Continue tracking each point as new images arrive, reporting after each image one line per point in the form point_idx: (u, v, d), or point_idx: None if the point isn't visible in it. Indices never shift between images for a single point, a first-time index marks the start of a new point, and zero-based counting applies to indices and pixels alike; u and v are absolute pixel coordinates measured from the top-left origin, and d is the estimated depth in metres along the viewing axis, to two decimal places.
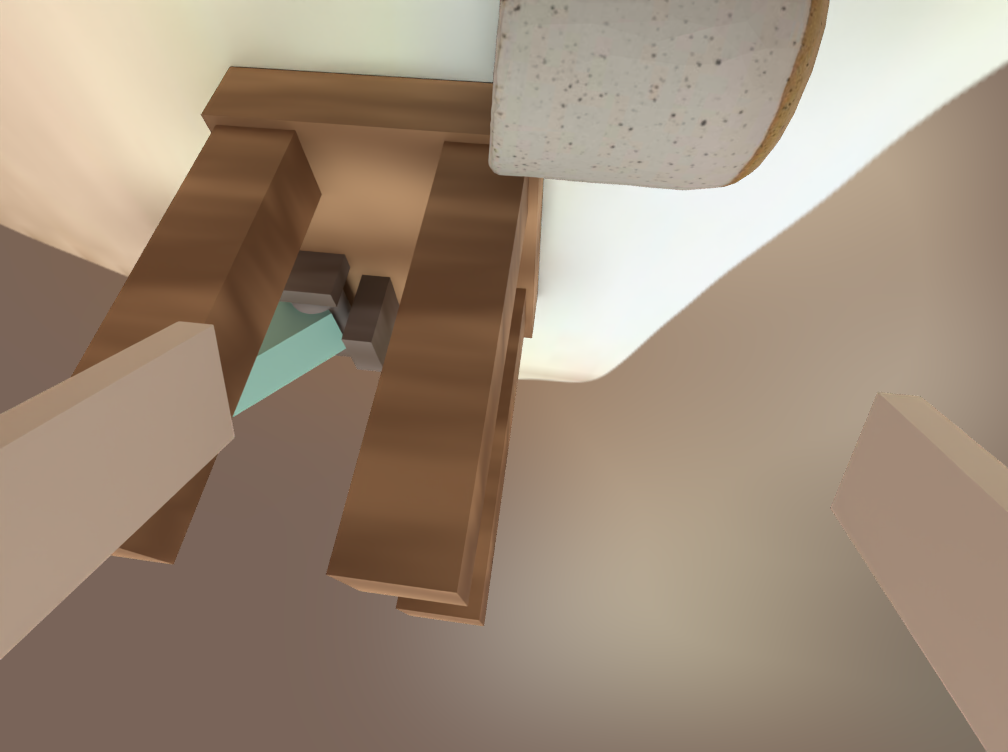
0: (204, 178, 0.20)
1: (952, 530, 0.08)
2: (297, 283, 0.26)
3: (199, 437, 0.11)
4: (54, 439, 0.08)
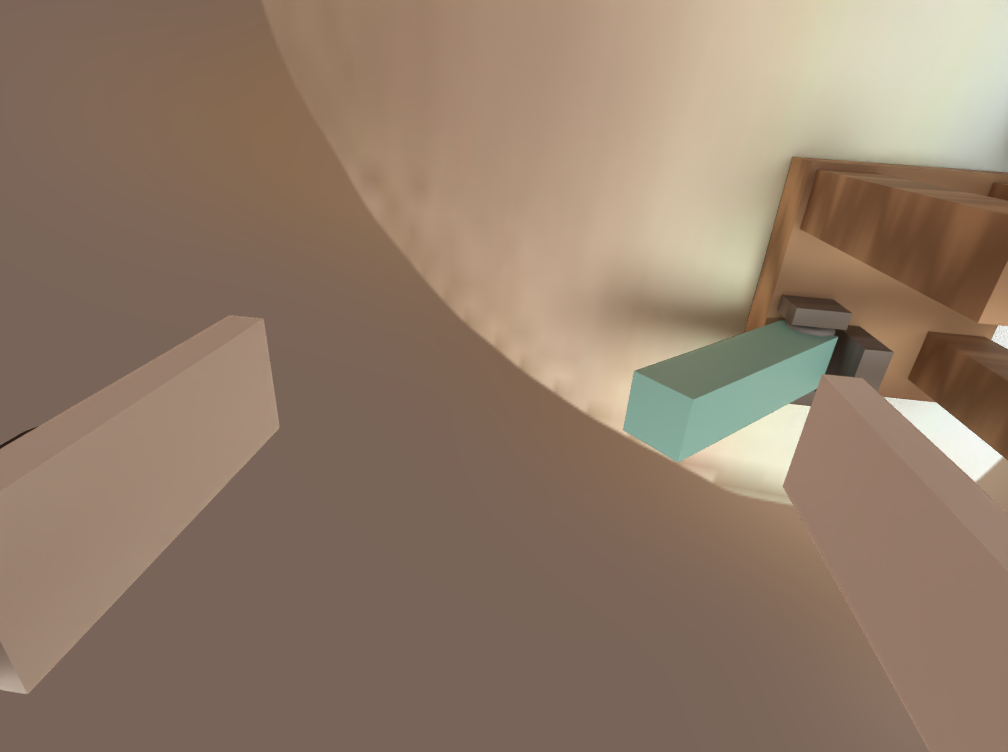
0: (855, 176, 0.27)
1: (878, 498, 0.08)
2: (815, 307, 0.31)
3: (250, 427, 0.11)
4: (133, 424, 0.08)
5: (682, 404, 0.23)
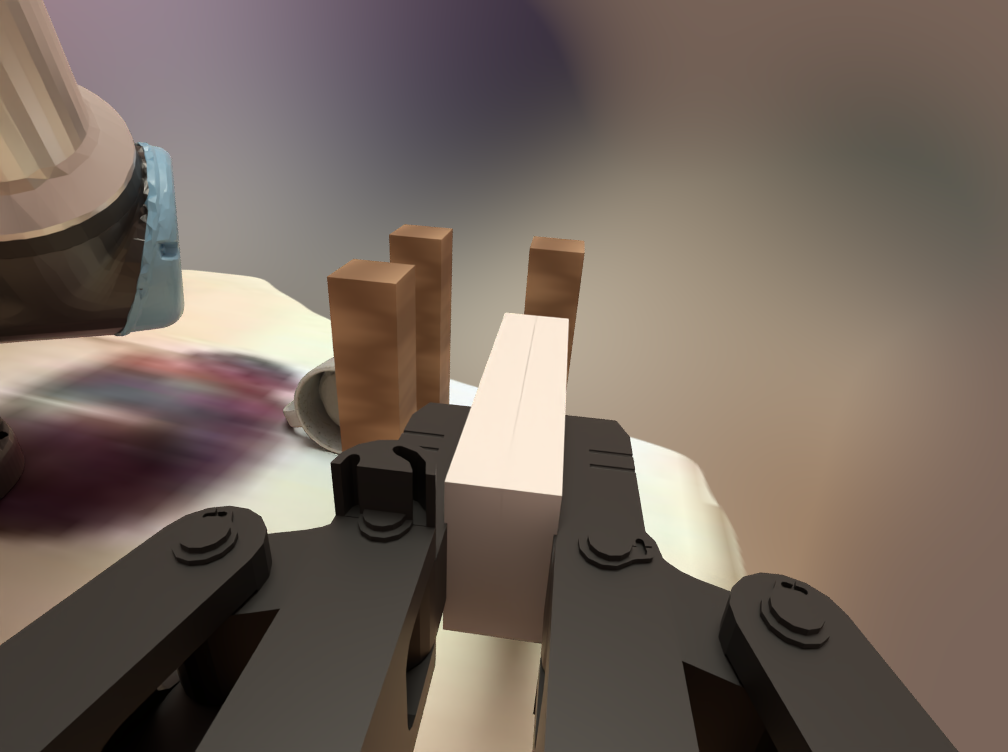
0: None
1: None
2: None
3: None
4: None
5: None
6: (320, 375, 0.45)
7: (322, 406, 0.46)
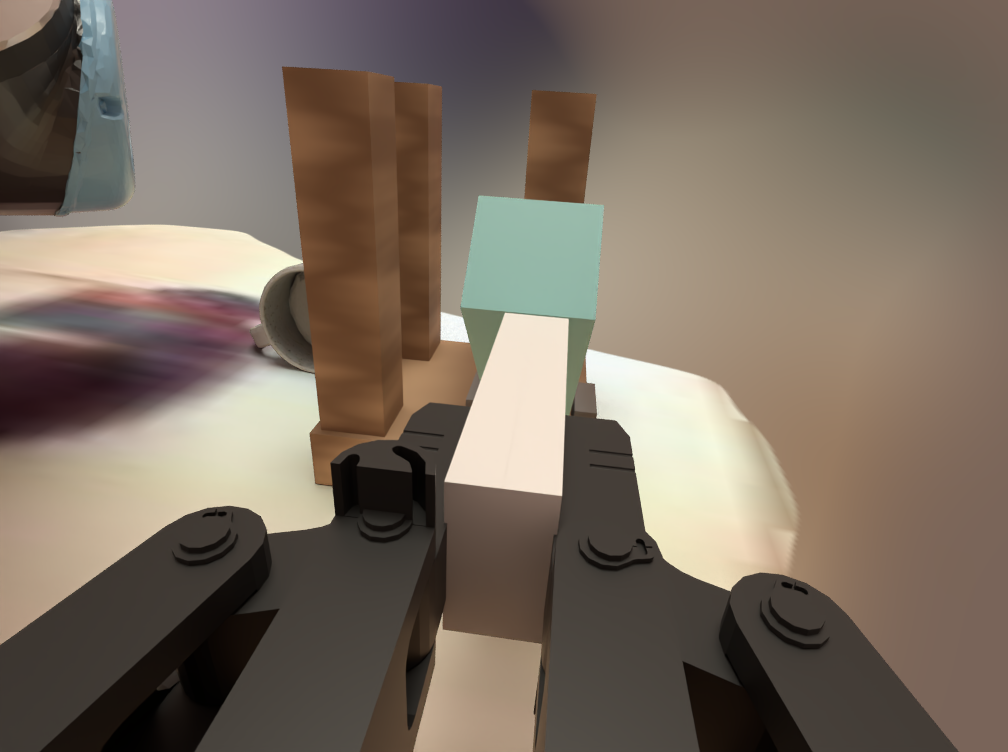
0: None
1: None
2: None
3: None
4: None
5: (494, 211, 0.14)
6: (290, 286, 0.40)
7: (293, 324, 0.41)
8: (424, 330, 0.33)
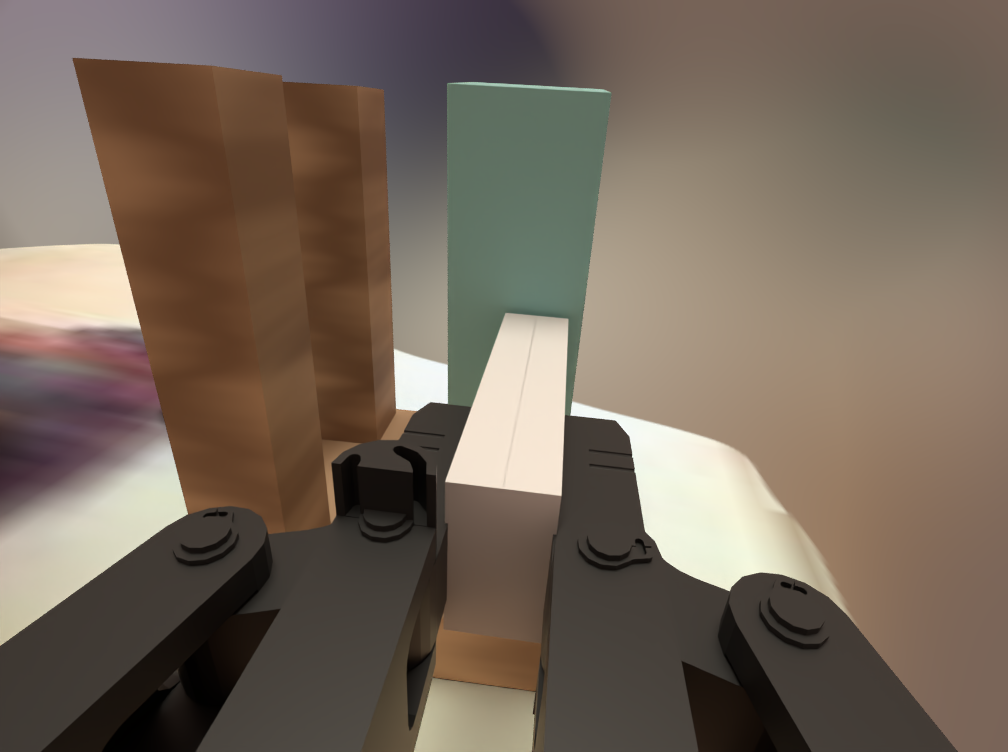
0: None
1: None
2: None
3: None
4: None
5: (488, 83, 0.13)
6: None
7: None
8: (369, 407, 0.26)
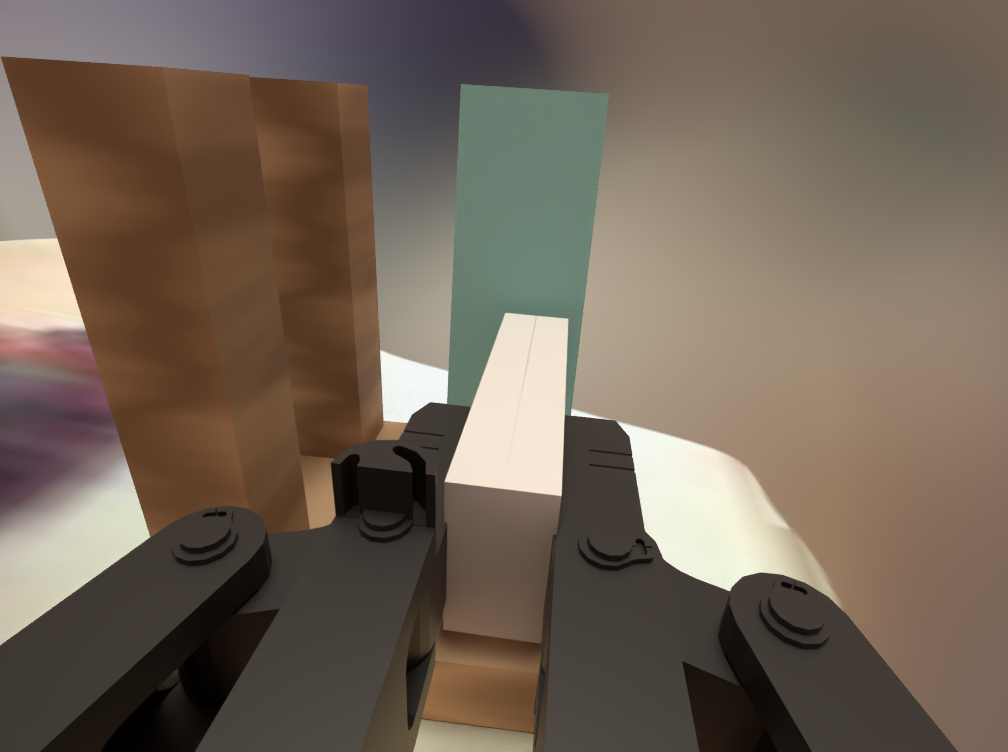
0: None
1: None
2: None
3: None
4: None
5: None
6: None
7: None
8: (354, 423, 0.24)
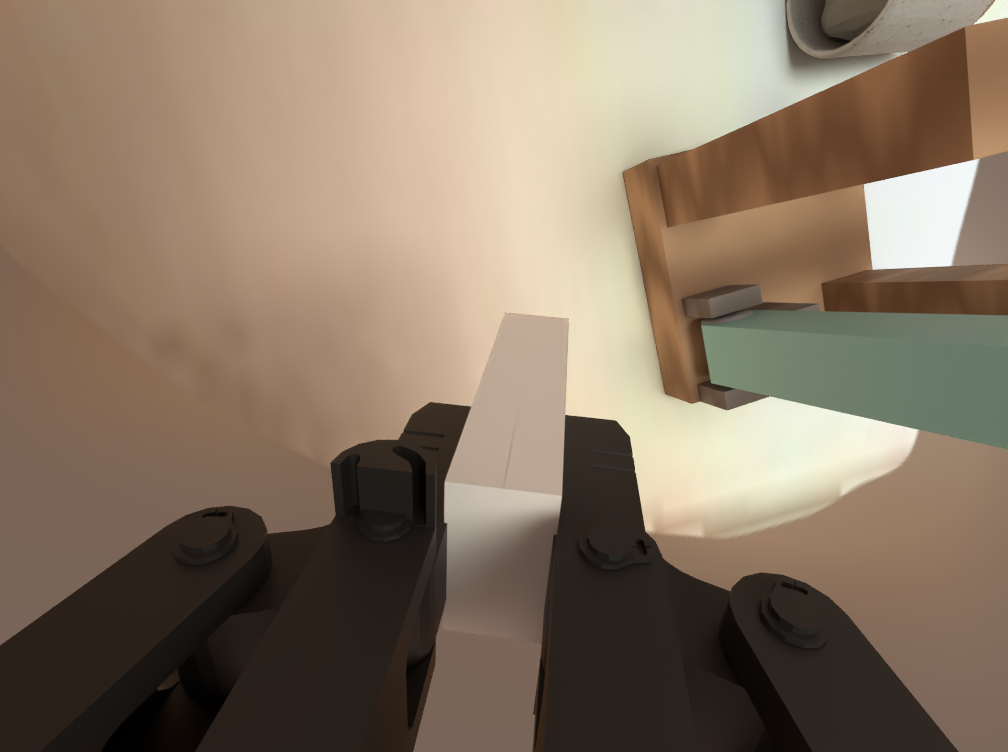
0: None
1: None
2: (723, 293, 0.28)
3: None
4: None
5: None
6: None
7: None
8: None
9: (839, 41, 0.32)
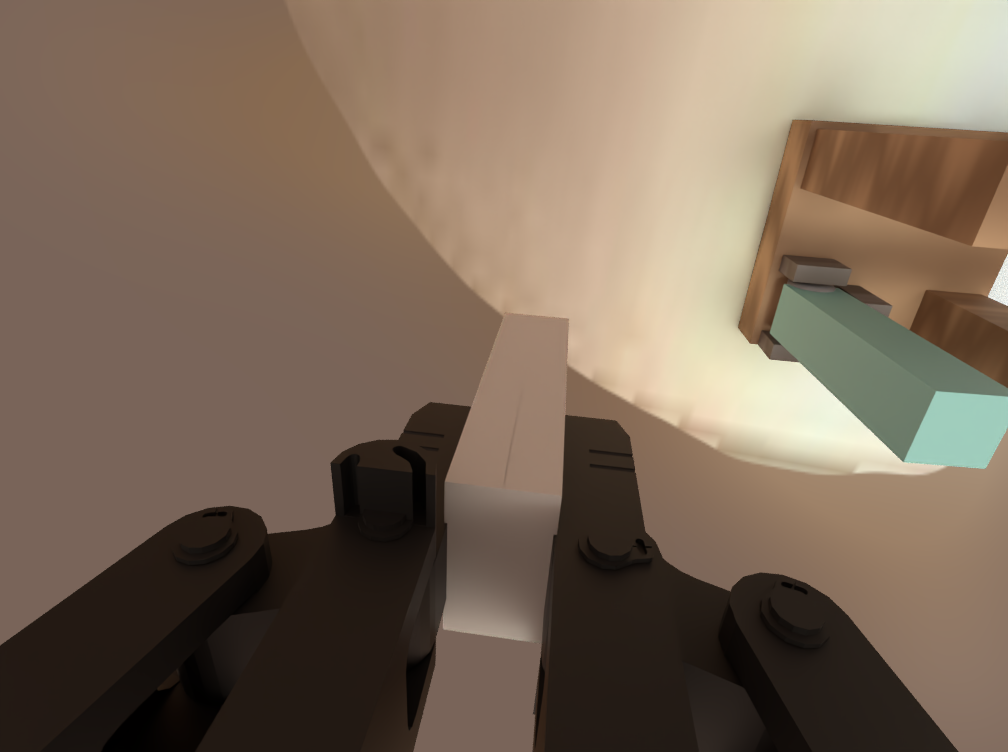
0: None
1: None
2: (816, 264, 0.32)
3: None
4: None
5: (1006, 407, 0.20)
6: None
7: None
8: None
9: None
